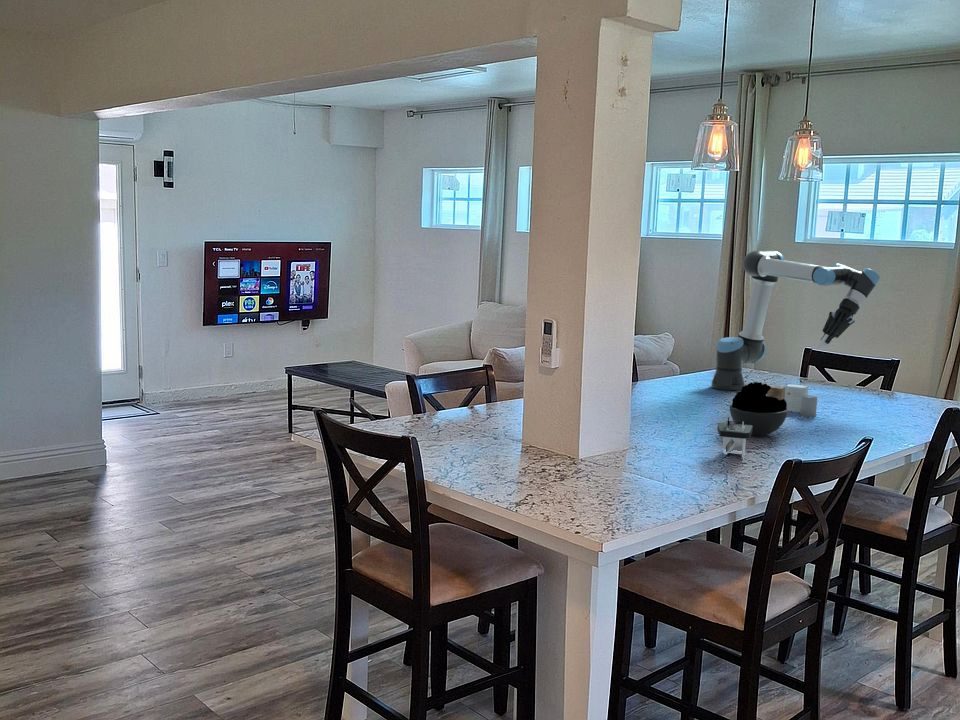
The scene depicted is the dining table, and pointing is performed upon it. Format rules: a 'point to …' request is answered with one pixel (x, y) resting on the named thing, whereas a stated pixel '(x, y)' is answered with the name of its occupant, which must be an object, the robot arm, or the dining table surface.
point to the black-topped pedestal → (734, 435)
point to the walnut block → (777, 392)
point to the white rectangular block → (808, 406)
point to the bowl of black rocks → (758, 409)
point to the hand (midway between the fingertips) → (819, 348)
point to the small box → (794, 396)
